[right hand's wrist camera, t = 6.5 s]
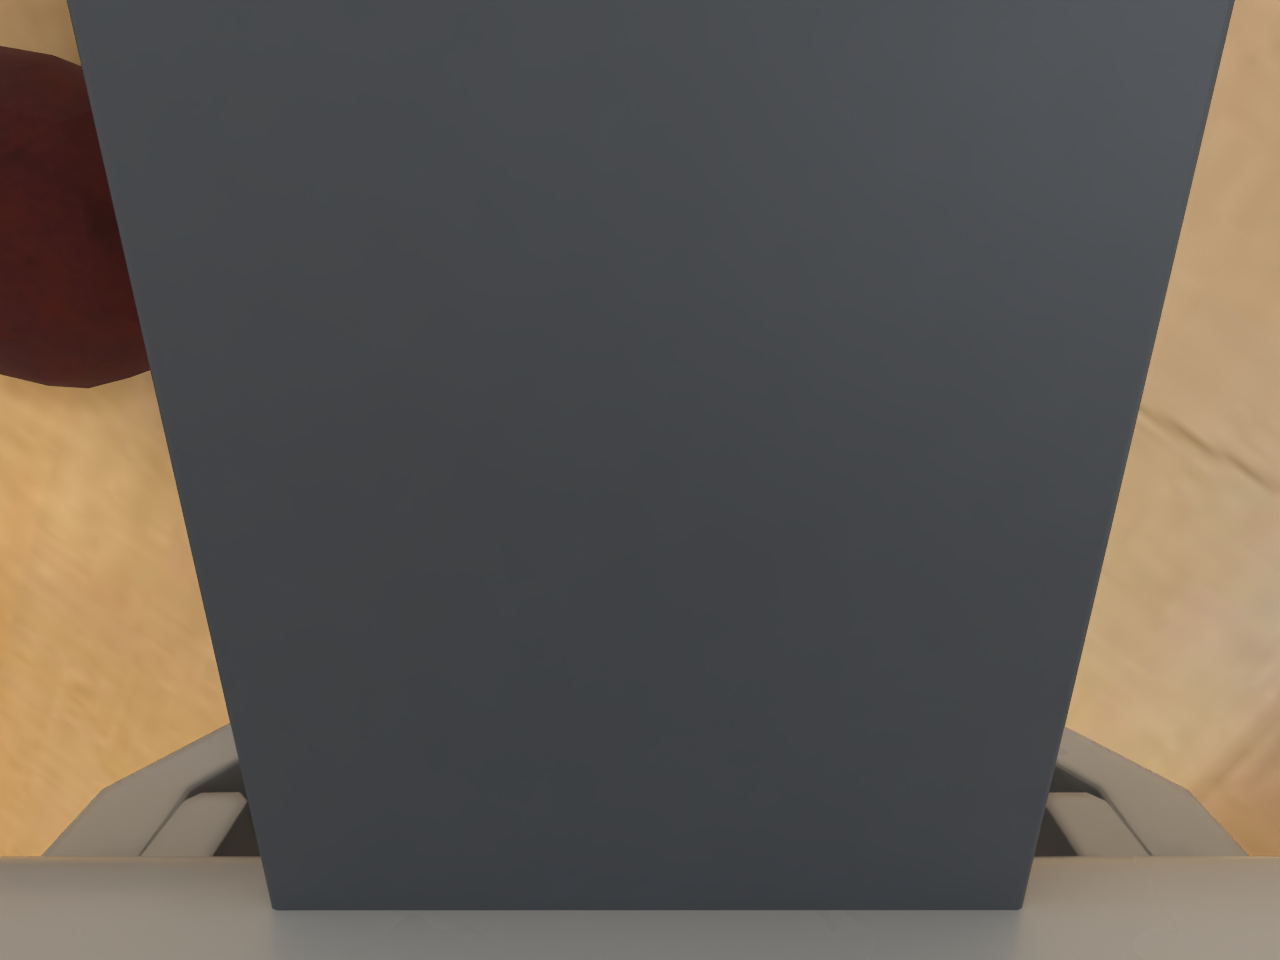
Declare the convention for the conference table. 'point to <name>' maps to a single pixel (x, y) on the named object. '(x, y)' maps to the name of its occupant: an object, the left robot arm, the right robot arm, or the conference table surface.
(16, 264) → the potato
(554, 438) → the bar
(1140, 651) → the conference table surface
